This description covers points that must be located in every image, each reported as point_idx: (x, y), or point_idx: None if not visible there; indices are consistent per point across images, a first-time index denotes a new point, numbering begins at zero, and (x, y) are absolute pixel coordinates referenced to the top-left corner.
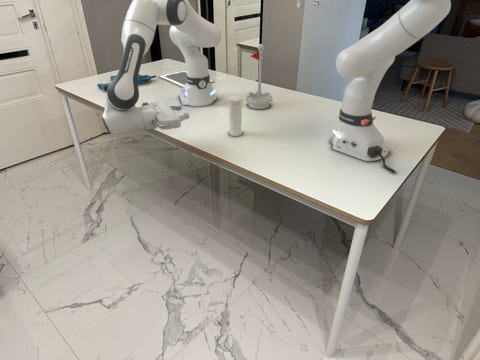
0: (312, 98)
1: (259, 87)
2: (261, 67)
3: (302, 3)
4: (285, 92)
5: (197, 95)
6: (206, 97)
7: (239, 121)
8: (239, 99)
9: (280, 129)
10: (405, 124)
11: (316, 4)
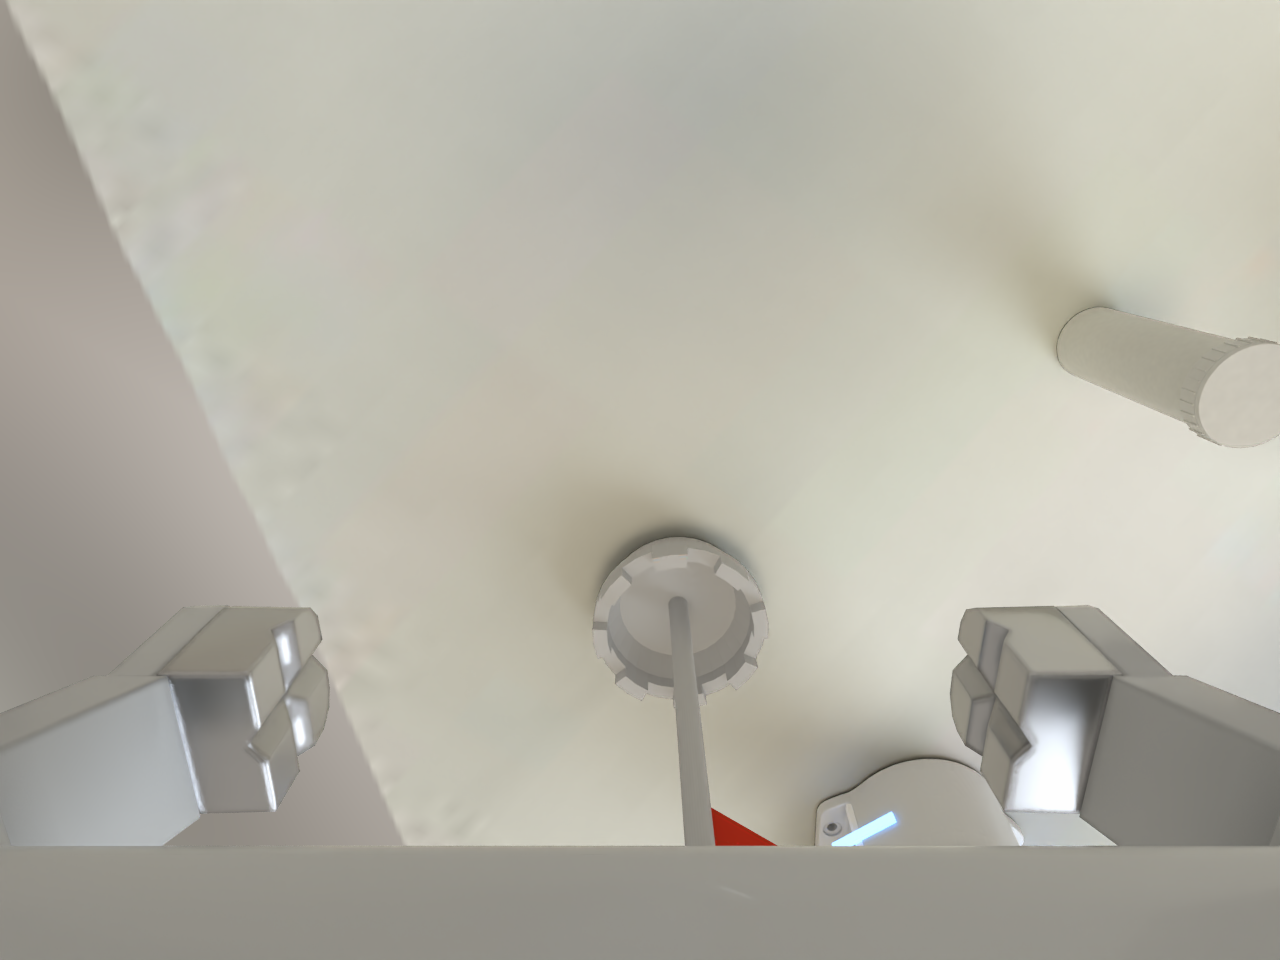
0: (285, 494)
1: (690, 658)
2: (686, 751)
3: (1035, 650)
4: (376, 673)
5: (993, 826)
6: (935, 798)
7: (1152, 320)
8: (1256, 355)
9: (840, 222)
10: None
11: (304, 633)
